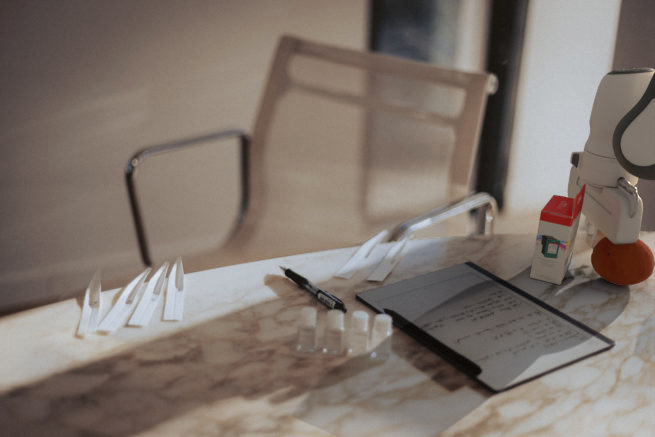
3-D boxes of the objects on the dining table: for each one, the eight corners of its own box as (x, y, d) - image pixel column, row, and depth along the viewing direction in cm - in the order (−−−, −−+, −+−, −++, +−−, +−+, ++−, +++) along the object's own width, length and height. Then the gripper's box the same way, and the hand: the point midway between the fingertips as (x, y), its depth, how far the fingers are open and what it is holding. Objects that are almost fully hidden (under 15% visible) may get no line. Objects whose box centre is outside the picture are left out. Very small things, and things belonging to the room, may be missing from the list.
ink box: (541, 258, 106) (555, 176, 100) (571, 265, 104) (588, 182, 98) (528, 278, 99) (543, 191, 94) (560, 286, 97) (577, 198, 91)
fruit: (575, 272, 102) (584, 227, 98) (618, 265, 104) (628, 221, 101) (614, 298, 94) (626, 251, 91) (660, 290, 97) (672, 243, 94)
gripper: (661, 191, 91) (640, 275, 96) (602, 151, 110) (587, 222, 115) (619, 190, 91) (600, 274, 96) (567, 150, 110) (554, 222, 115)
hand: (593, 246), depth 106 cm, fingers closed
